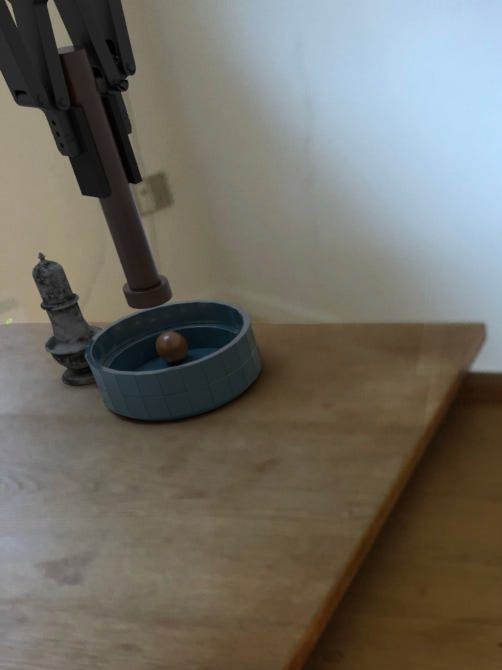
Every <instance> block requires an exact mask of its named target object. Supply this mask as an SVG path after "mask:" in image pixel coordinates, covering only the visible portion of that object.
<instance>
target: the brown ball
mask: <svg viewBox="0 0 502 670" xmlns="http://www.w3.org/2000/svg"><path fill="white" fill-rule="evenodd" d="M156 350H157V353H158V355H159V356H160V357H161V358H162V359H163V360H164V361H166V362H169V363H177V362H180V361H182V360H183V359H184V358H185V357H186V355H187V352H188V345H187V342H186V340H185V338H184V337H183V336H182V335H181V334H179V333H177V332H175V331H166V332H164V333H162V334H161V335H160V336H159V337H158V338H157V341H156Z"/></svg>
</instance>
